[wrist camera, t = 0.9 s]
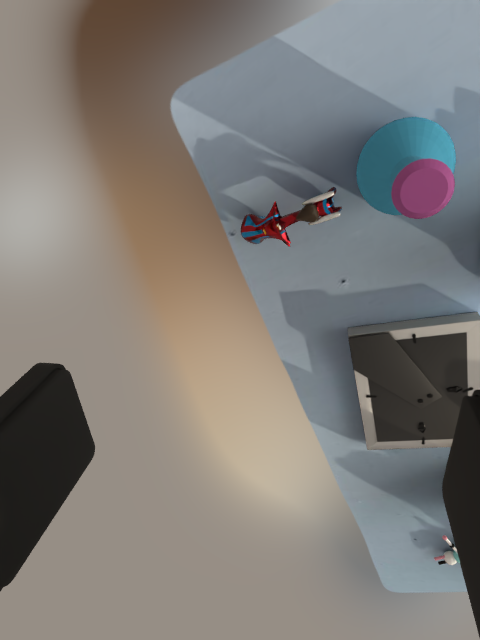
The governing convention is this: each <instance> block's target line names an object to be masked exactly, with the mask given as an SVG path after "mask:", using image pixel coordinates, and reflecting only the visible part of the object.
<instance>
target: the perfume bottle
mask: <svg viewBox="0 0 480 640" xmlns="http://www.w3.org/2000/svg"><path fill="white" fill-rule="evenodd" d="M455 163H456V154H455V149H454V144H453V142H452V140H451V138H450V136H449V134H448V133H447V132H446V131H445V130H444V129H443V128H442V127H441V126H440V125H438V124H437V123H435V122H433V121H431V120H428V119H425V118H419V117H409V118H403V119H399V120H395V121H393V122H391V123H389V124H386V125H385V126H383V127H382V128H380V129H379V130H378V131H376V132H375V133H374V134H373V135H372V136H371V138H370V139H369V140H368V141H367V143H366V144H365V146H364V148H363V150H362V152H361V154H360V156H359V160H358V164H357V173H356V176H357V184H358V187H359V190H360V192H361V194H362V196H363V197H364V199H365V200H366V201H367V202H368V203H369V204H370V205H371V206H372V207H374V208H375V209H377V210H378V211H381V212H383V213H386V214H391V215H404V216H407V217H409V218H414V219H422V218H427V217H430V216H432V215H434V214H436V213H438V212H439V211H441V210H442V209H443V208H444V207H445V206H446V205H447V204H448V202H449V201H450V199H451V197H452V194H453V192H454V187H455V181H454V176H453V173H454V169H455Z"/></svg>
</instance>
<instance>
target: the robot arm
mask: <svg viewBox="0 0 480 640" xmlns="http://www.w3.org/2000/svg"><path fill="white" fill-rule="evenodd" d="M94 452H95V445H94V441H93V438H92V436H91V433H90V430H89V427H88V424H87V421H86V418H85V415H84V412H83V409H82V406H81V403H80V400H79V397H78V394H77V391H76V389H75V386H74V382H73V379H72V377H71V374H70V372H69V371H68V370H66V369H65V367H64V366H63V365H61V364H53V363H38V364H36V365H35V366H33V367H32V368H31V369H30V370H29V371H28V372H27V373H26V374H24V376H22V377H21V378H20V379H19V380H18V381H17V382H16V383H15V384H14V385H13V386H11V387H10V388H9V389H8V390H7V391H6V392H5V393H4V394H3V395H2V396H1V397H0V591H1V590H2V588H3V587H5V586H7V585H8V584H9V583H11V581H12V580H13V579H14V577H15V576H16V574H17V573H18V571H19V570H20V568H21V567H22V565H23V564H24V562H25V561H26V559H27V557H28V556H29V555H30V553H31V551H32V550H33V548H34V547H35V545H36V544H37V542H38V541H39V539H40V538H41V536H42V535H43V533H44V532H45V530H46V529H47V527H48V526H49V524H50V523H51V521H52V519H53V518H54V516H55V515H56V513H57V512H58V510H59V509H60V507H61V506H62V504H63V503H64V501H65V500H66V498H67V497H68V495H69V493H70V492H71V491H72V489H73V487H74V486H75V484H76V483H77V481H78V480H79V478H80V477H81V475H82V474H83V472H84V471H85V469H86V468H87V466H88V465H89V463H90V462H91V460H92V458H93V456H94ZM442 491H443V499H444V503H445V507H446V511H447V515H448V518H449V522H450V526H451V530H452V534H453V537H454V541H455V545H456V549H457V553H458V557H459V560H460V564H461V568H462V572H463V576H464V579H465V583H466V587H467V591H468V595H469V599H470V602H471V606H472V610H473V614H474V618H475V621H476V625H477V629H478V633H479V637H480V390H475V391H474V392H473V394H472V396H464V398H463V400H462V404H461V408H460V412H459V416H458V420H457V425H456V429H455V433H454V437H453V441H452V445H451V450H450V454H449V458H448V462H447V466H446V471H445V475H444V479H443V485H442Z"/></svg>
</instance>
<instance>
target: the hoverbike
mask: <svg viewBox="0 0 480 640" xmlns="http://www.w3.org/2000/svg"><path fill="white" fill-rule="evenodd" d="M335 193H336V188H335V187H332V188H331V189H330V190H329V191H328V192H326V193H324V194H321V195H318V196H316V197H314V198H311V199H309V200H307V201H305V202H303V203H302V205H306V206H304V208H303V209H302V210H299V211H296V212H294V213H291V214H288V215H285V216H283V217H281V216H280V213H279V211H278V207H277V204H276V202H274V204H273V207H272V209H271V211H270V212H269V214H268V215H267V217H257V216H255V215H253V214H248V215H246V216H245V217H244V219H243V222H242V226H241V235H242V237H243V238H244V239H245V240H246V241H248V242H250V243H253V244H259V243H261V242H262V241H263V240H264V239H266V238H276V239H280V240H282V241H283V242H284V243H285V244H286V245H288V246H290V244H289V243H291V242H290V240H289V237H288V235H287V233H286V230H285V228H286V227H288V226H289V225H291V224H293V223H295V222H298V221H306V222H310V223H309V225H314V224H318V223H321V222H324V221H328V220H330V219H333V218H336V217H338V216H340V211H341V210H342V207H334V200H333V196H334V195H335ZM312 203H313V204H312ZM319 216H321V217H320V218H319Z"/></svg>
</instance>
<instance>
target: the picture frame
mask: <svg viewBox="0 0 480 640" xmlns="http://www.w3.org/2000/svg"><path fill="white" fill-rule="evenodd" d="M348 337H349V338H348V339H349V345H350V351H351V357H352V363H353V369H354V373H355V379H356V385H357V391H358V397H359V403H360V409H361V415H362V421H363V427H364V433H365V439H366V445H367V450H379V449H406V448H434V447H451V445H452V441H453V437H454V433H455V429H456V425H457V420H458V416H459V412H460V408H461V404H462V400H463V398H464V396H472V394H473V392H474V391H475V390H480V315H479V314H478V312H473V313H464V314H456V315H448V316H440V317H432V318H424V319H416V320H407V321H399V322H391V323H383V324H375V325H367V326H359V327H350V328H348Z"/></svg>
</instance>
